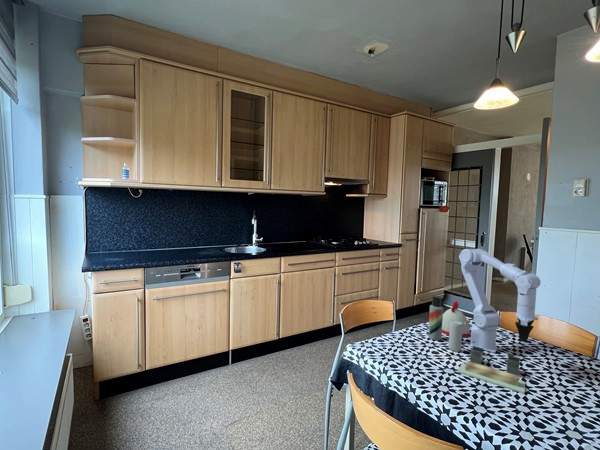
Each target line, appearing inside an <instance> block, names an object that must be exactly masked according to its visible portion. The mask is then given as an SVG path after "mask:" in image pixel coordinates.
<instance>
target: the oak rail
mask: <svg viewBox="0 0 600 450" xmlns="http://www.w3.org/2000/svg"><path fill="white" fill-rule="evenodd" d="M465 364H466V366H465V370H466V371H469V372H472V373H475V374H479V375H482V376H485V377H488V378H491V379H495V380H498V381H501V382H504V383H507V384H511V385H514V386H517V387H518V380H520V379H519V377H520V376H519V375H518V376H517V375H514V374H510V373H507V371H503V370H500V369H496V368H493V367H489V366H486V365H483V364H481V365H480V364H476V363H473V362H470V360H467V361H466V362H465Z"/></svg>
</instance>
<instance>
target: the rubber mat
mask: <svg viewBox="0 0 600 450" xmlns="http://www.w3.org/2000/svg"><path fill="white" fill-rule="evenodd" d="M465 366H466V363H464V362H462V363H461V365H460V366H459V367H458V370H457V373H458V374H462V375H463V376H464V375H465V376H468V377H470V378H473V379H474V378H475V379H476V380H477V379H478V380H479V381H483V382H487V383H490V384H493V385H496V386H500V387H501V388H505V389H508V390H511V391H515V392H518V393H519V394H520V393H521V394H525V392H526V391H525V390H526V381H523V380H520V379H518V387H517V386H514V385H511V384H507V383H504V382H501V381H498V380H495V379H491V378H488V377H485V376H482V375H479V374H475V373H472V372H469V371H466V370H465Z"/></svg>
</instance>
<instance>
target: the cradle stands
mask: <svg viewBox="0 0 600 450" xmlns="http://www.w3.org/2000/svg"><path fill="white" fill-rule="evenodd" d="M483 356H484V350H483V348H480V347H476V346H473V347H472V349H470V358H469V361H470V362H473V363H476V364H480V365H482V363H483V358H484V357H483ZM520 362H521V358H520V357H517V356H514V355H510V354H508V357H507V360H506V372H507V373H510V374H514V375H517V376H519V375H520Z"/></svg>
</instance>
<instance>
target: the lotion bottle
mask: <svg viewBox="0 0 600 450" xmlns="http://www.w3.org/2000/svg"><path fill="white" fill-rule="evenodd" d="M431 300H432V301H431V302H432V303H431V304H430V305H429V318H428V334H427V335H428V339H430V340H433V341H441V340H442V335H443V333H442V320H443V314H444V307H443V306H442V297H441V296H437V295H433V296H432V299H431Z"/></svg>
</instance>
